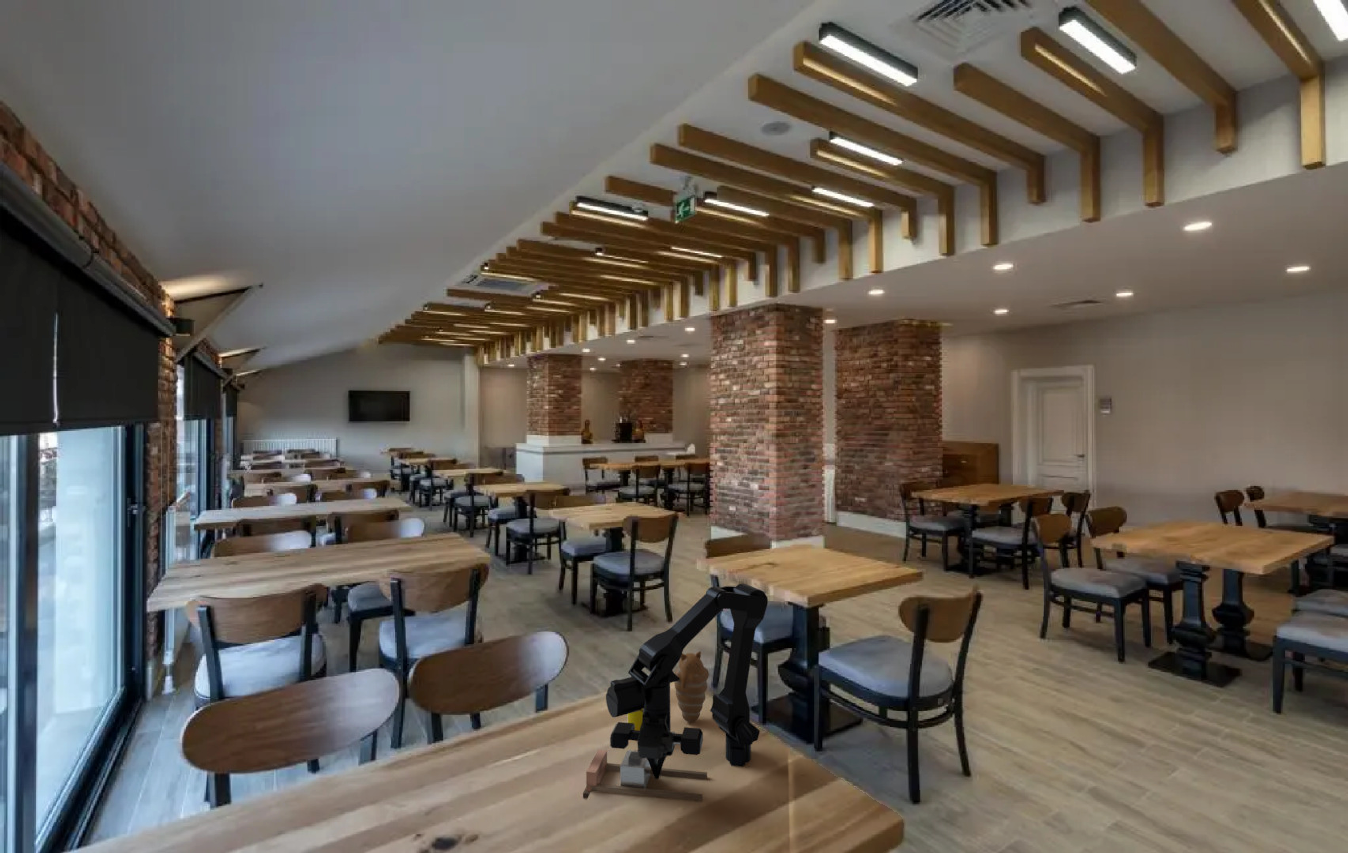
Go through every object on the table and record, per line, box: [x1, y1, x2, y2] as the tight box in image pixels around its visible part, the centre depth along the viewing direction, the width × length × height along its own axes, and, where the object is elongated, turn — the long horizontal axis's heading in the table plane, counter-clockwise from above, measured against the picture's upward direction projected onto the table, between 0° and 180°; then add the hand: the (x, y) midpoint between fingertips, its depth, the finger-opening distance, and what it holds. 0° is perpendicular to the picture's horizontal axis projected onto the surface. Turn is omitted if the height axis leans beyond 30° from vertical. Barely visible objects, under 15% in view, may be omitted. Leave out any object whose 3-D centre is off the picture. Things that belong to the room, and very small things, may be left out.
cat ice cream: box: [673, 650, 710, 723], centre depth 158 cm, size 9×8×18 cm
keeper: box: [619, 749, 651, 789], centre depth 131 cm, size 6×5×6 cm
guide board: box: [582, 749, 708, 803], centre depth 131 cm, size 10×25×5 cm, turn 80°
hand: (657, 778), depth 130 cm, fingers closed
